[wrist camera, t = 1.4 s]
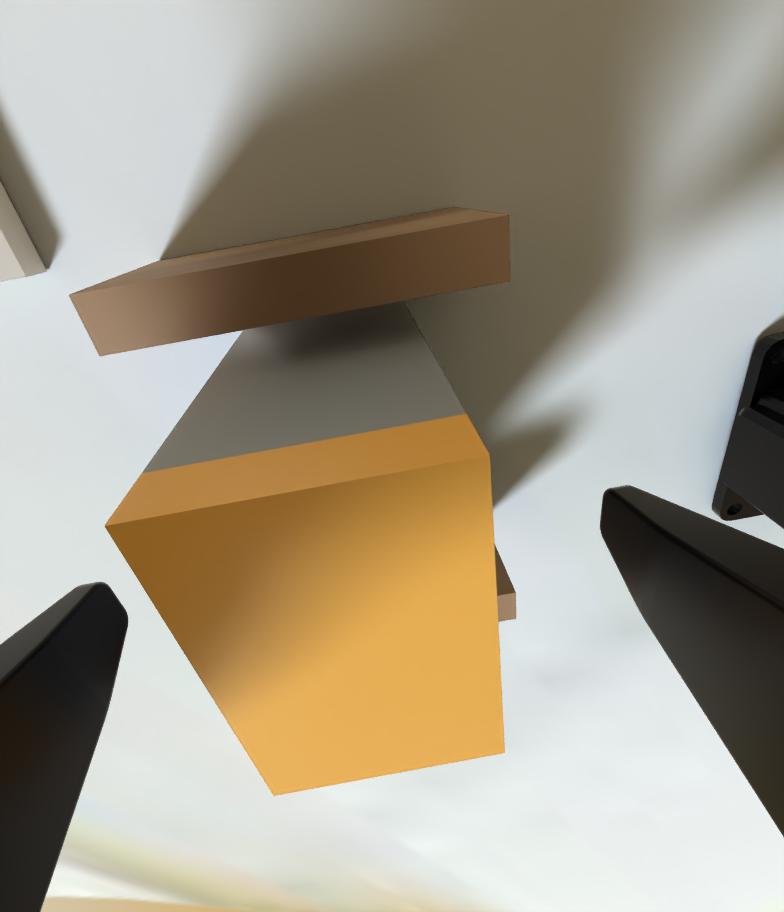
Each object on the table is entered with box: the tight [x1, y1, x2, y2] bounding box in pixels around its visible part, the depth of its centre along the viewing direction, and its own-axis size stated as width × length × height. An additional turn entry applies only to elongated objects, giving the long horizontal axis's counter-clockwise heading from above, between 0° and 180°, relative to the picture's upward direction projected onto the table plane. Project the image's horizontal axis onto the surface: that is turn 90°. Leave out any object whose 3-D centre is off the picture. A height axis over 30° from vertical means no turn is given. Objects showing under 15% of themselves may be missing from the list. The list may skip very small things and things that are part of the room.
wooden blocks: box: [69, 207, 516, 622], centre depth 11 cm, size 7×10×4 cm
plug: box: [105, 301, 505, 796], centre depth 10 cm, size 4×6×8 cm, turn 9°
